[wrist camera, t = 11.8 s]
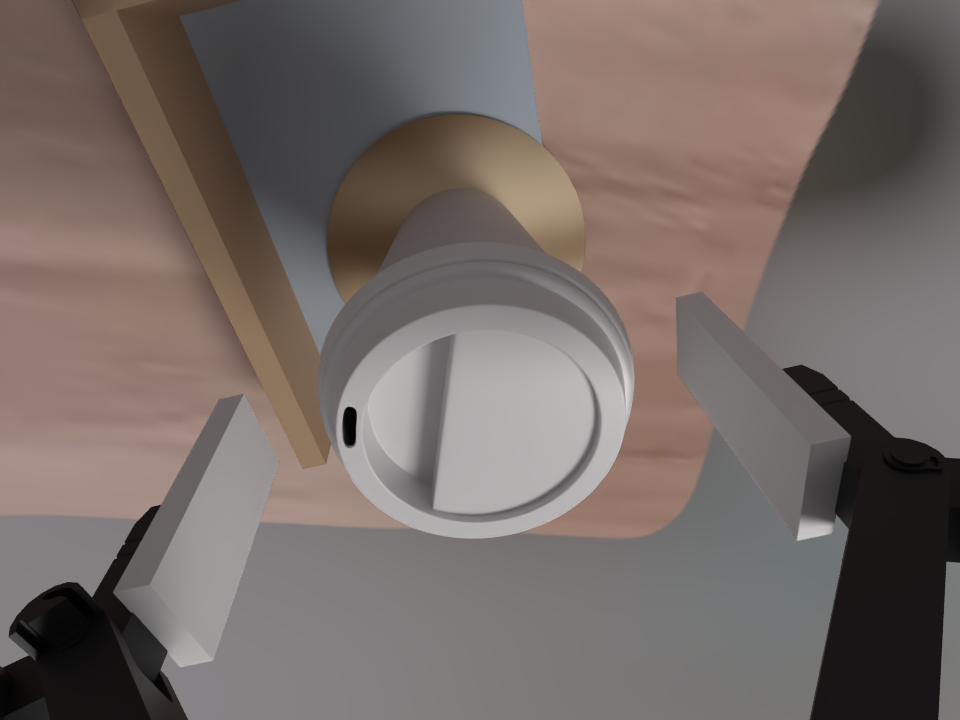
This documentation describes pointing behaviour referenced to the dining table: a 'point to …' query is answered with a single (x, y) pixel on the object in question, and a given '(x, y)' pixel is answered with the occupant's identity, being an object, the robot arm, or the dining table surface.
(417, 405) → the coffee cup
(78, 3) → the tray
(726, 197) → the dining table surface
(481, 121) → the pad
